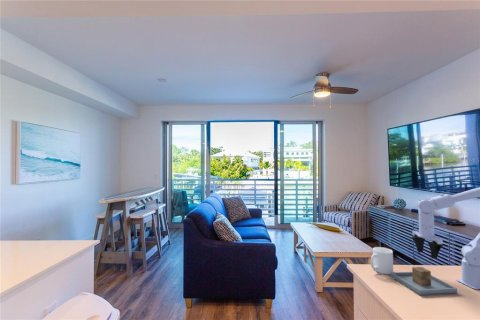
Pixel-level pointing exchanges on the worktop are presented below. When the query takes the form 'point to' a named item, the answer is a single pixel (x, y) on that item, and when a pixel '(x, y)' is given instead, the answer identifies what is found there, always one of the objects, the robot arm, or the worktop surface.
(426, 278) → the block
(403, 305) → the worktop surface
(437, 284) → the tray
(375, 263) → the cup
